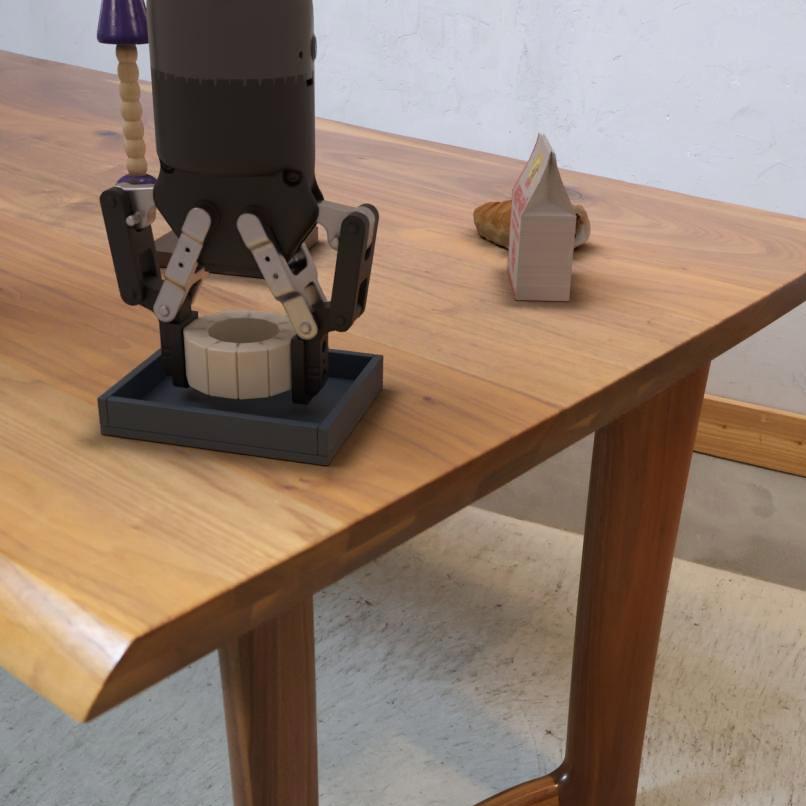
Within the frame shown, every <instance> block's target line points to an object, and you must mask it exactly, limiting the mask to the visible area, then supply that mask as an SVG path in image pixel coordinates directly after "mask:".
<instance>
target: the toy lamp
mask: <svg viewBox="0 0 806 806" xmlns="http://www.w3.org/2000/svg"><path fill="white" fill-rule="evenodd" d="M96 29H97V30H96V40H97V42H98V43H100V44H104V45H115V57H116V60H117V62H118V64H117V68H116V70H117V71H116V73H117V77H118V80H119V84H118V94H119V97H120V99H121V103H120V114H121V117H122V119H123V122H122V134H123V136H124V138H125V141H124V152H125V154H126V157H127V158H126V163H125V164H126V170H127V172H128V173H127V174H125V175H123V176H121V177H120V178H119V179H117V181H116V182H115V185H114V186H116V185H118V184H120V183H122V182H124V181H126V180H128V179H135V180H137V181H139V182H140V183H141V184H155V182H156V180H157V178H156V177H155V176H153V175H151V174H149V173H148V161H147V158H146V157H145V155H146V151H147V146H146V142H145V140H144V135H145V125H144V123H143V120H142V117H143V107H142V104H141V101H140V98H141V86H140V84H139V82H138V81H139V78H140V68H139V66H138V64H137V61H138V55H139V53H138V48H137V46H140V45H149V40H148V27H147V10H146V1H145V0H101V3H100V9H99V16H98V22H97V28H96Z"/></svg>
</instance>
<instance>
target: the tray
mask: <svg viewBox="0 0 806 806" xmlns="http://www.w3.org/2000/svg"><path fill="white" fill-rule="evenodd" d="M383 388H384V354H379V353H369V352H362V351H354V350H353V351H352V350H345V349H337V348H329V347H328V379H327V382H326V384H325V386H324V387H323V388H322V389H321V391H320V392H319V393H318V394H317V395H315V396H314V397H313V399H312V400H311V401H310V402H309V403H308V405H303V404H296V403H293V401H292V389H291V390H289V391H286V392H283V393H280V394H277V395H274V396H269V397H265V398H254V399H242V400H240V399H239V398H238V399H230V398H223V397H215V396H210V395H206V394H204V393H202V392H200V391H198V390H196V389H194V388H192V387H191V386H190V387H189V388H181V387H174V386H173V384H172V376H169V375H166V373H165V371H164V369H163V367H162V355H161V347H160V348H158V349H157V350H156V351H154V352H153V353H152V354H150V355H149V357H147V358H146V359H144V360H143V361H142V362H141V363H139V364H138V365H137V366H136V367H134V368H133V369H132V370H131V371H130V372H128V373H127V374H126V375H125V376H123V377H122V378H121V379H119V380H118V381H117V382H116V383H114V384H113V385H112V386H110V387H109V388H108V389H107V390H106V391H104V392H103V393H101V395H99V396H98V397H97V398H96V403H97V409H98V419H99V425H100V426H99V428H100V429H99V430H100V434H101V435H105V436H112V437H113V436H114V437H120V438H128V439H134V440H141V441H148V442H155V443H156V442H157V443H162V444H170V445H177V446H183V447H191V448H197V449H206V450H212V451H219V452H227V453H234V454H240V455H247V456H255V457H263V458H269V459H277V460H285V461H293V462H299V463H306V464H313V465H320V466H325V467H326V466H329V464H330V463H331V462H332V460H333V459H334V457H335V456H336V455H337V453H338V452H339V450H340V449H341V448H342V446H343V445H344V443H345V442H346V440H347V439H348V437H349V436H350V435H351V433H352V432H353V431H354V429H355V428H356V426H357V425H358V424H359V422H360V421H361V419H362V418H363V416H364V415H365V414H366V412H367V411H368V410H369V408H370V407H371V405H372V404H373V402H374V401H375V400H376V398H377V397H378V396H379V394H380V393H381V391H382V390H383Z"/></svg>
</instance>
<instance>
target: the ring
mask: <svg viewBox="0 0 806 806" xmlns="http://www.w3.org/2000/svg"><path fill="white" fill-rule="evenodd" d="M183 333H184V349H185V364H186V376H187V379H188V383H189V385H190V386H191V387H192V388H194V389H196V390H198V391H200V392H202V393H204V394H206V395H210V396H215V397H223V398H230V399H238V398H239V399H240V400H242V399H254V398H265V397H269V396H274V395H277V394H280V393H283V392H286V391H289V390H291V389H292V375H291V338H292V337H293V336H294V335H295V334H296V332H295V330H294V328H293V326H292V324H291V322H290V320H289V318H288V315H286V314H282V313H280V312H279V313H277V312H272V311H263V310H255V309H251V310H250V309H238V310H237V309H236V310H223V311H218V312H215V313H210V314H207V315H203V316H200V317H199V316H198V318H197V319H195V320H194V321H192V322H191V323H190V324H189V325H187V326H186V327H185V328H184V330H183Z"/></svg>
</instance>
